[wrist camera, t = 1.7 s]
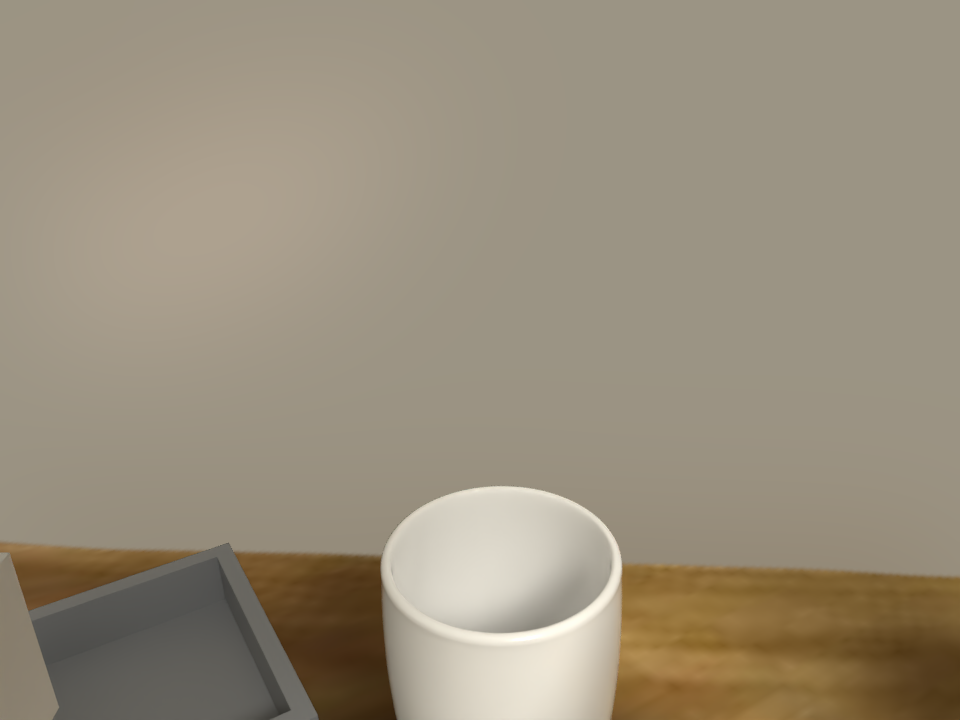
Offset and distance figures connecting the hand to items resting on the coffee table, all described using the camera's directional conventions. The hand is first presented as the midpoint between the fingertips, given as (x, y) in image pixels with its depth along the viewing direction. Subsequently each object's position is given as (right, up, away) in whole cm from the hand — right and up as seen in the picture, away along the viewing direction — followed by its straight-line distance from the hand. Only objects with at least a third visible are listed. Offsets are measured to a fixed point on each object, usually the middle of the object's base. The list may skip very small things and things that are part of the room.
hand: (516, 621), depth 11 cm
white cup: (0, -16, +18) cm, 24 cm away
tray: (-15, -13, +24) cm, 31 cm away
